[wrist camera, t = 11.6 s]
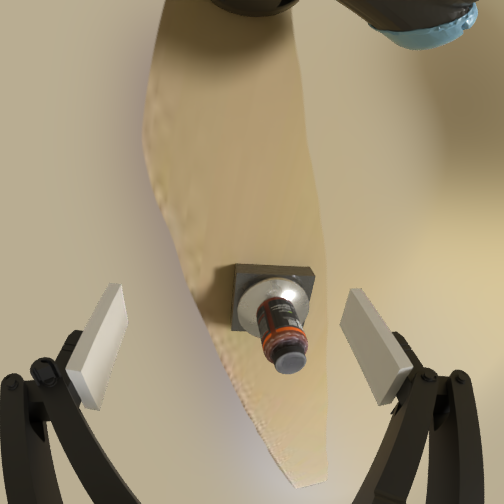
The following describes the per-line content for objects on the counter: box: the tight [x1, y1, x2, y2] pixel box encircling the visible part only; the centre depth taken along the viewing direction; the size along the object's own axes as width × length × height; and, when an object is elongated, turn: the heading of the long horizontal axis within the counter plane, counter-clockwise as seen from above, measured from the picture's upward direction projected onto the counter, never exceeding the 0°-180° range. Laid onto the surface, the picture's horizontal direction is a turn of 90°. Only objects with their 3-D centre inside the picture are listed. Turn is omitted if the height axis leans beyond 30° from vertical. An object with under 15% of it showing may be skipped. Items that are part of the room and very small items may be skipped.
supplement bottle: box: [256, 297, 308, 374], centre depth 39 cm, size 6×6×11 cm
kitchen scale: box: [231, 264, 315, 338], centre depth 47 cm, size 12×12×5 cm
